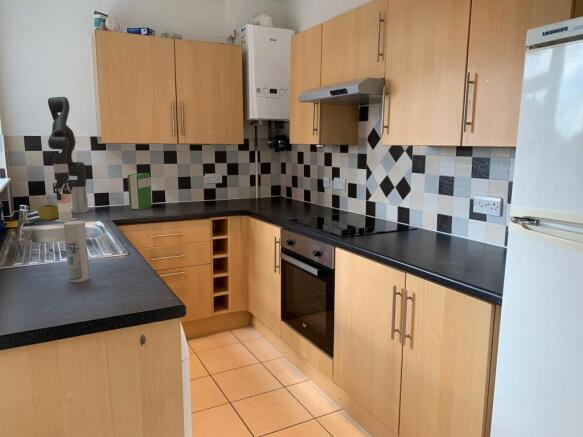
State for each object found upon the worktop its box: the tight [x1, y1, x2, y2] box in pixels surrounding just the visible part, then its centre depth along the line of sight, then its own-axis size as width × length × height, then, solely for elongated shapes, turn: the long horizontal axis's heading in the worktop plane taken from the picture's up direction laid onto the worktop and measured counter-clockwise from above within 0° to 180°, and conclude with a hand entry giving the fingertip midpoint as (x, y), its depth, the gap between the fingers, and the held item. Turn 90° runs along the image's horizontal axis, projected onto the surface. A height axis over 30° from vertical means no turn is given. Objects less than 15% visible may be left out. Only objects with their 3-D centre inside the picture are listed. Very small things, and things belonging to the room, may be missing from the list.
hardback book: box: [127, 172, 152, 211], centre depth 310 cm, size 18×7×24 cm, turn 171°
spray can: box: [63, 220, 90, 283], centre depth 150 cm, size 6×6×20 cm
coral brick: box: [56, 193, 72, 204], centre depth 259 cm, size 5×5×5 cm
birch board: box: [53, 217, 79, 222], centre depth 262 cm, size 10×10×1 cm
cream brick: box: [57, 201, 72, 212], centre depth 260 cm, size 5×5×5 cm
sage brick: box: [58, 210, 73, 220], centre depth 261 cm, size 5×5×5 cm
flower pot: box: [36, 204, 59, 221], centre depth 263 cm, size 9×9×9 cm
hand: (63, 199), depth 259 cm, fingers open, 8 cm apart
